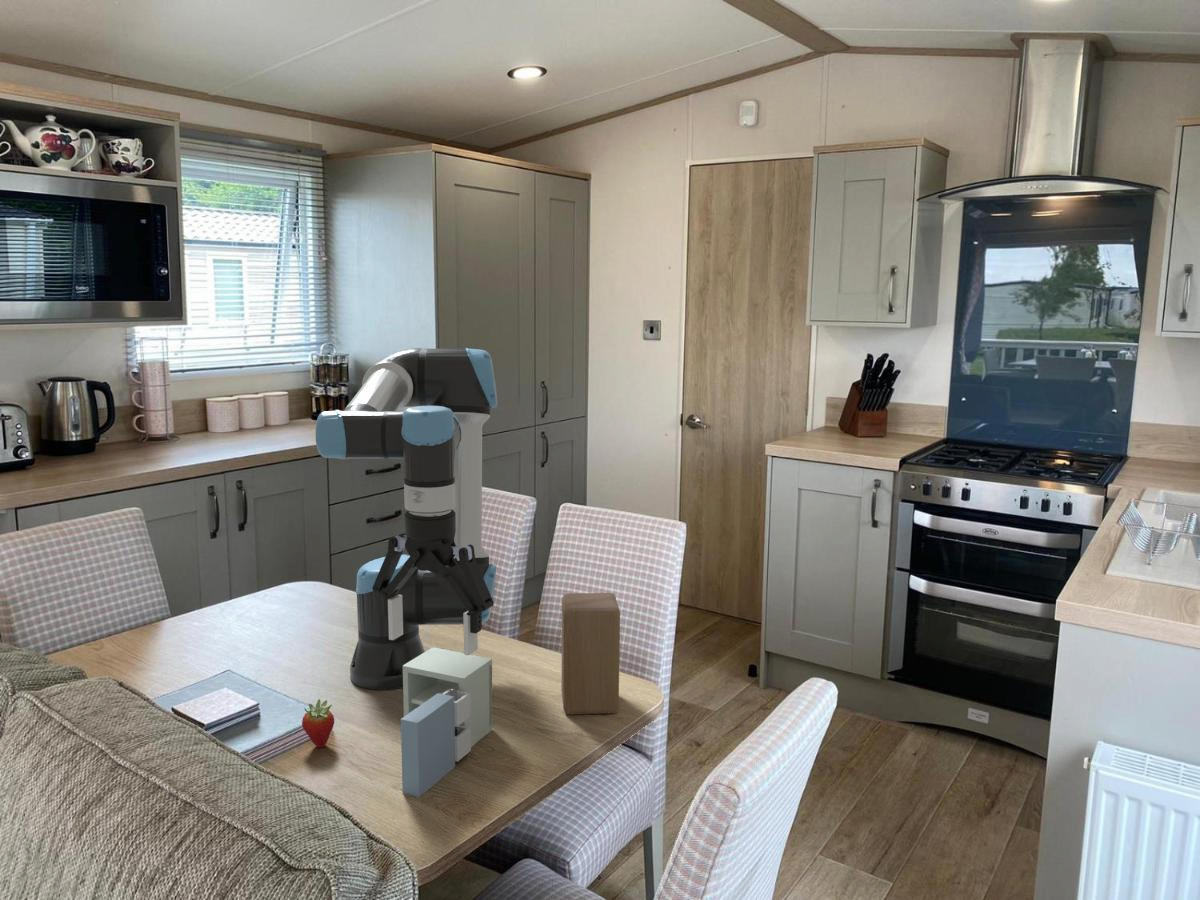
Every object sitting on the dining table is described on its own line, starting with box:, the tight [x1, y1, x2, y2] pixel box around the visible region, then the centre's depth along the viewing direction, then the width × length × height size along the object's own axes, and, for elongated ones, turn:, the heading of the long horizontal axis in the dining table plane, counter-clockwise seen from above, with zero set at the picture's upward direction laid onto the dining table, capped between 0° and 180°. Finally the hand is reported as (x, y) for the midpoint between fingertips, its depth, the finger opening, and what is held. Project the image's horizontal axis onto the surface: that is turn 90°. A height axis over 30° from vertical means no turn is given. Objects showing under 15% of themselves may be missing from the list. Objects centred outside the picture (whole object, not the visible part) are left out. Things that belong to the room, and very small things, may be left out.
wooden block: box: [561, 592, 621, 715], centre depth 171 cm, size 10×10×20 cm
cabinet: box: [402, 646, 493, 748], centre depth 160 cm, size 12×9×13 cm
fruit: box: [301, 698, 335, 748], centre depth 155 cm, size 5×5×8 cm
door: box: [400, 689, 472, 798], centre depth 147 cm, size 4×14×12 cm, turn 156°
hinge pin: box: [449, 689, 458, 763], centre depth 152 cm, size 2×4×12 cm, turn 156°
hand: (432, 644), depth 144 cm, fingers open, 13 cm apart
